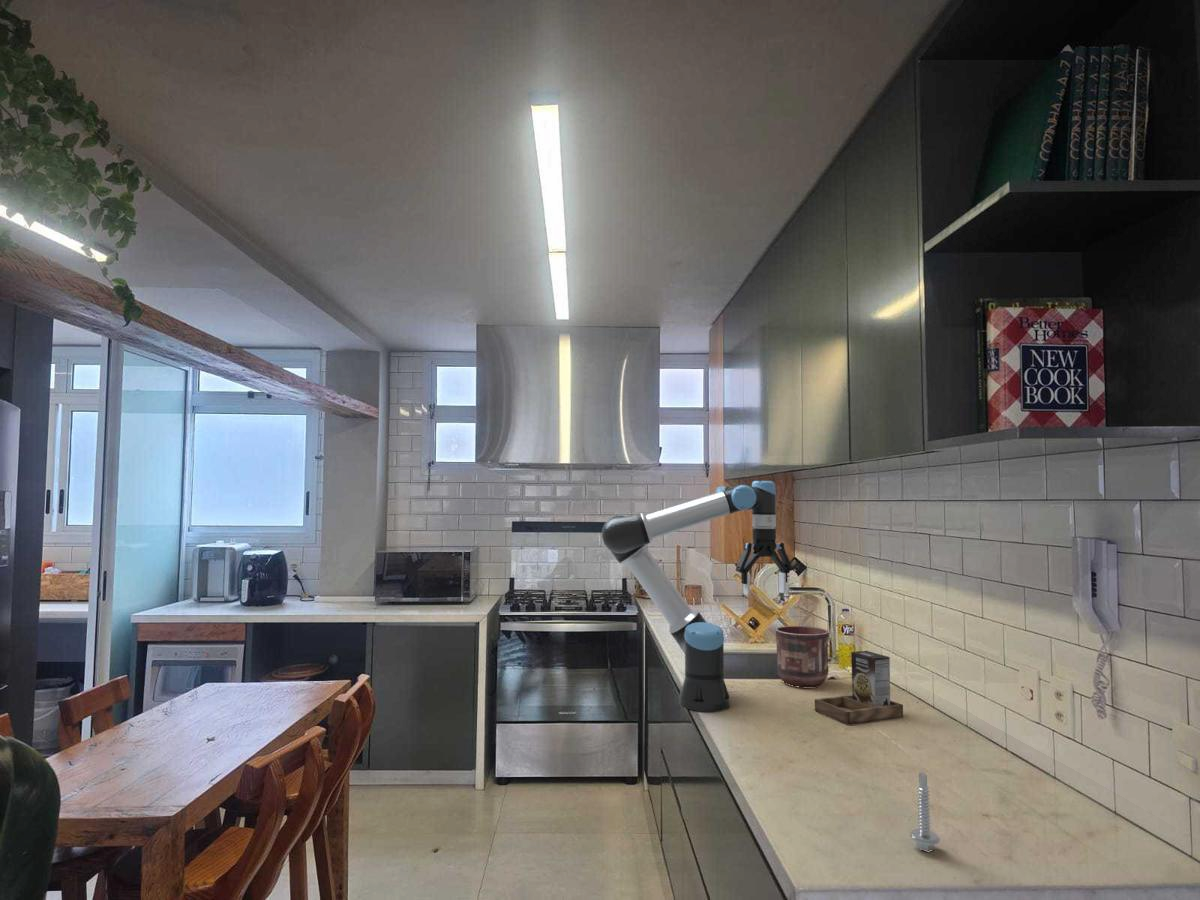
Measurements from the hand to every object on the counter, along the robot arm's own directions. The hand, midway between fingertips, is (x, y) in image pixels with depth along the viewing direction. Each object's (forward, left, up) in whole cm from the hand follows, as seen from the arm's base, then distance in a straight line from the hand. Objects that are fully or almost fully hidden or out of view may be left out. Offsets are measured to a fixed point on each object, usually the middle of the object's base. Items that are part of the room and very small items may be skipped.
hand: (764, 593), depth 222 cm
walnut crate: (+12, -28, -32) cm, 44 cm away
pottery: (+19, +6, -32) cm, 37 cm away
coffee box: (+17, -29, -31) cm, 45 cm away
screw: (-33, -94, -32) cm, 105 cm away
